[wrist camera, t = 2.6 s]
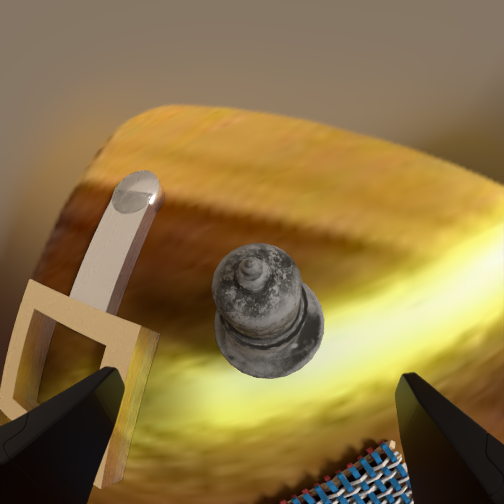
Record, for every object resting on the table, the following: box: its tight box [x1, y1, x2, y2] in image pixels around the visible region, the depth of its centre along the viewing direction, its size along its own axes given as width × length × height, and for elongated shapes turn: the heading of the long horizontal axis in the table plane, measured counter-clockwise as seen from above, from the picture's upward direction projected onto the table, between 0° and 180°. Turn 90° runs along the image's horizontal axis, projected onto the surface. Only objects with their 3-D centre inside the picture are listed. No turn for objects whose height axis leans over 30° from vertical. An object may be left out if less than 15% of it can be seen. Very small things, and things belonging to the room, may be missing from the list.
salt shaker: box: [212, 243, 324, 379], centre depth 13 cm, size 6×6×12 cm
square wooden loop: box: [0, 279, 151, 489], centre depth 15 cm, size 24×12×3 cm, turn 165°
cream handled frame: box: [25, 171, 165, 484], centre depth 20 cm, size 24×12×2 cm, turn 165°
